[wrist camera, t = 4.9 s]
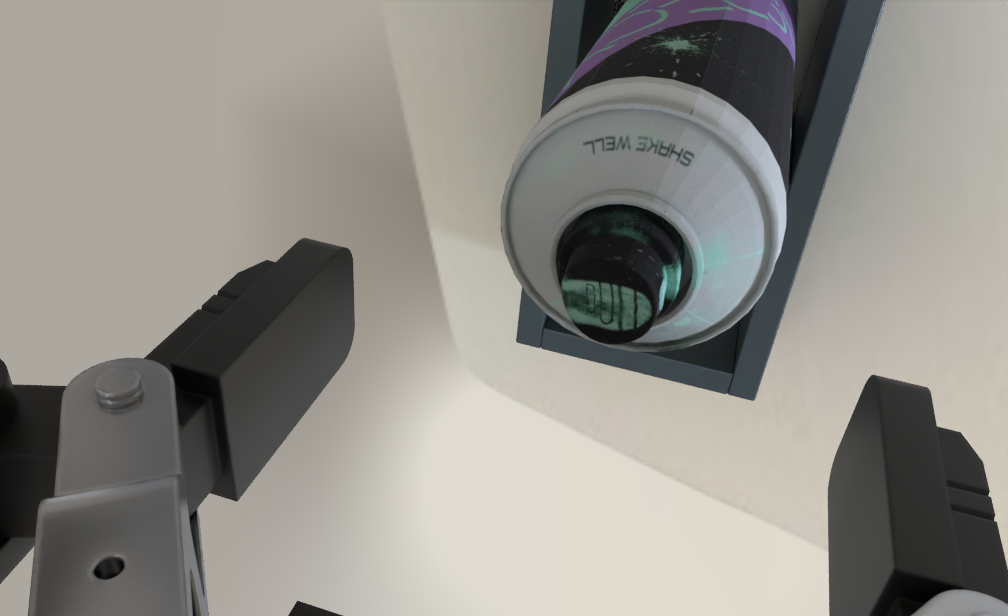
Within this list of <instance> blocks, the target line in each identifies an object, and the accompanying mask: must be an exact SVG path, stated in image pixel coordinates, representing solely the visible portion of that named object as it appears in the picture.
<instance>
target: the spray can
mask: <svg viewBox="0 0 1008 616" xmlns="http://www.w3.org/2000/svg"><path fill="white" fill-rule="evenodd" d="M797 16H798V0H627V1H626V2H625V4H624V5H623V6H622V8H621V9H620V10H619V12H618V13H617V15H616V16H615V17H614V19H613V20H612V21H611V23H610V24H609V26H608V27H607V28H606V30H605V31H604V32H603V34H602V35H601V37H600V38H599V39H598V41H597V42H596V43H595V45H594V46H593V48H592V49H591V50H590V52H589V53H588V54H587V56H586V57H585V58H584V60H583V61H582V63H581V64H580V65H579V67H578V68H577V69H576V71H575V72H574V74H573V75H572V76H571V78H570V79H569V80H568V82H567V83H566V85H565V86H564V87H563V89H562V90H561V91H560V93H559V94H558V96H557V97H556V98H555V100H554V101H553V102H552V104H551V105H550V106H549V108H548V109H547V111H546V112H545V113H544V115H543V116H542V117H541V119H540V120H539V122H538V123H537V124H536V126H535V127H534V128H533V130H532V131H531V133H530V134H529V135H528V137H527V138H526V139H525V141H524V142H523V144H522V146H521V148H520V150H519V153H518V155H517V157H516V159H515V161H514V163H513V166H512V170H511V174H510V176H509V178H508V180H507V183H506V186H505V191H504V195H503V199H502V204H501V233H502V238H503V243H504V248H505V253H506V255H507V258H508V260H509V262H510V265H511V267H512V270H513V272H514V274H515V276H516V278H517V279H518V281H519V282H520V284H521V285H522V287H523V288H524V290H525V291H526V293H527V294H528V295H529V297H530V298H531V299H532V300H533V301H534V302H535V303H536V304H537V305H538V306H539V307H540V308H541V309H542V310H543V311H544V312H545V313H546V314H547V315H549V316H550V317H551V318H552V319H554V320H555V321H556V322H558V323H559V324H560V325H562V326H563V327H565V328H566V329H568V330H570V331H572V332H574V333H576V334H578V335H579V336H581V337H583V338H585V339H588V340H590V341H593V342H596V343H599V344H602V345H605V346H608V347H612V348H618V349H623V350H629V351H637V352H662V351H669V350H675V349H682V348H686V347H689V346H692V345H695V344H698V343H701V342H704V341H707V340H709V339H711V338H713V337H715V336H716V335H718V334H720V333H722V332H724V331H726V330H727V329H729V328H730V327H731V326H733V325H734V324H735V323H736V322H737V321H739V320H740V319H741V318H742V317H743V316H745V315H746V314H747V313H748V312H749V311H750V309H751V308H752V307H753V305H754V304H755V303H756V302H757V300H758V299H759V298H760V297H761V295H762V294H763V292H764V290H765V288H766V286H767V284H768V282H769V279H770V277H771V275H772V273H773V271H774V266H775V263H776V261H777V258H778V256H779V254H780V252H781V247H782V243H783V238H784V234H785V229H786V217H787V199H788V181H789V163H790V144H791V126H792V108H793V89H794V71H795V53H796V35H797Z"/></svg>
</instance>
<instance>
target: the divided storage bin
mask: <svg viewBox="0 0 1008 616" xmlns="http://www.w3.org/2000/svg"><path fill="white" fill-rule="evenodd" d="M615 1H616V0H554V1H553V10H552V19H551V29H550V38H549V47H548V56H547V65H546V74H545V83H544V92H543V101H542V111H541V117H542V116H543V115H544V113H545V112H546V111H547V109H548V108H549V106H550V105H551V104H552V102H553V101H554V100H555V98H556V97H557V96H558V94H559V93H560V91H561V90H562V89H563V87H564V86H565V85H566V83H567V82H568V80H569V79H570V78H571V76H572V75H573V74H574V72H575V71H576V69H577V68H578V67H579V65H580V64H581V63H582V61H583V60H584V58H585V57H586V56H587V54H588V53H589V52H590V50H591V49H592V48H593V46H594V45H595V43H596V42H597V41H598V39H599V38H600V37H601V35H602V34H603V32H604V31H605V30H606V28H607V27H608V26H609V24H610V23H611V21H612V20H613V15H614V8H615ZM885 1H886V0H828V3H827V7H826V10H825V13H824V17H823V20H822V24H821V27H820V31H819V34H818V38H817V41H816V45H815V48H814V51H813V55H812V58H811V62H810V65H809V69H808V72H807V76H806V79H805V82H804V86H803V89H802V93H801V96H800V100H799V103H798V107H797V110H796V114H795V117H794V118H793V117H792V126H791V144H790V163H789V181H788V199H787V217H786V229H785V234H784V238H783V243H782V247H781V252H780V254H779V256H778V258H777V261H776V263H775V266H774V271H773V273H772V275H771V277H770V279H769V282H768V284H767V286H766V288H765V290H764V292H763V294H762V295H761V297H760V298H759V299H758V300H757V302H756V303H755V304H754V305H753V307H752V308H751V309H750V311H749V312H748V313H747V314H746V315H745V316H743V317H742V318H741V319H740V320H739V321H737V322H736V323H735V324H734V325H733V326H731V327H730V328H729V329H727V330H726V331H724V332H722V333H720V334H718V335H716V336H715V337H713V338H711V339H709V340H707V341H704V342H701V343H698V344H695V345H692V346H689V347H686V348H682V349H675V350H669V351H662V352H637V351H629V350H623V349H618V348H612V347H608V346H605V345H602V344H599V343H596V342H593V341H590V340H588V339H585V338H583V337H581V336H579V335H578V334H576V333H574V332H572V331H570V330H568V329H566V328H565V327H563V326H562V325H560V324H559V323H558V322H556V321H555V320H554V319H552V318H551V317H550V316H549V315H547V314H546V313H545V312H544V311H543V310H542V309H541V308H540V307H539V306H538V305H537V304H536V303H535V302H534V301H533V300H532V299H531V298H530V297H529V295H528V294H527V293H526V291H525V290H524V288H523V287H522V293H521V302H520V311H519V320H518V330H517V339H516V341H517V343H521V344H525V345H529V346H533V347H537V348H540V347H541V348H542V349H545V350H549V351H553V352H557V353H561V354H566V355H570V356H574V357H578V358H582V359H586V360H590V361H594V362H598V363H602V364H606V365H610V366H614V367H618V368H622V369H626V370H630V371H634V372H638V373H642V374H646V375H650V376H654V377H658V378H662V379H666V380H671V381H675V382H679V383H683V384H687V385H691V386H695V387H699V388H703V389H707V390H711V391H715V392H719V393H723V394H727V393H728V394H729V395H732V396H736V397H740V398H744V399H748V400H752V401H754V400H755V398H756V395H757V392H758V389H759V386H760V383H761V379H762V376H763V373H764V370H765V367H766V364H767V361H768V358H769V355H770V352H771V349H772V346H773V343H774V340H775V337H776V334H777V331H778V328H779V324H780V321H781V318H782V315H783V312H784V309H785V306H786V303H787V300H788V297H789V294H790V291H791V288H792V285H793V282H794V279H795V276H796V273H797V269H798V266H799V263H800V260H801V257H802V254H803V251H804V248H805V245H806V242H807V239H808V236H809V233H810V230H811V227H812V224H813V221H814V218H815V214H816V211H817V208H818V205H819V202H820V199H821V196H822V193H823V190H824V187H825V184H826V181H827V178H828V175H829V172H830V169H831V166H832V163H833V159H834V156H835V153H836V150H837V147H838V144H839V141H840V138H841V135H842V132H843V129H844V126H845V123H846V120H847V117H848V114H849V111H850V108H851V104H852V101H853V98H854V95H855V92H856V89H857V86H858V83H859V80H860V77H861V74H862V71H863V68H864V65H865V62H866V59H867V56H868V53H869V50H870V46H871V43H872V40H873V37H874V34H875V31H876V28H877V25H878V22H879V19H880V16H881V13H882V10H883V7H884V4H885Z"/></svg>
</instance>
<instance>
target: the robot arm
mask: <svg viewBox="0 0 1008 616" xmlns="http://www.w3.org/2000/svg"><path fill="white" fill-rule="evenodd" d="M354 324H355V323H354V281H353V258H352V254H351V252H350V250H349V249H348V248H344V247H340V246H336V245H332V244H328V243H324V242H319V241H315V240H311V239H307V238H303V239H301V240H299V241H298V242H297V243H296V244H295V245H294V246H293V247H292V248H290V250H288V251H287V252H286V253H285V254H284V255H283V256H282V257H281V258H280V259H279V260H278V261H277V262H272V261H268V260H266V261H263V262H261V263H259V264H257V265H255V266H252V267H250V268H248V269H246V270H244V271H241V272H239V273H237V274H236V275H235V276H234V277H233V278H232V279H231V280H230V281H229V282H227V283H226V284H225V285H224V286H223V287H222V288H221V289H220V290H219V291H218V294H217V295H213V296H212V297H211V298H210V299H209V300H208V301H207V302H205V303H204V304H203V305H202V309H201V310H199V309H198V310H197V311H196V312H194V313H193V315H191V316H190V317H189V318H188V319H187V320H186V321H185V322H184V323H182V324H181V325H180V326H179V327H178V328H177V329H176V330H175V331H174V332H173V333H171V334H170V335H169V336H168V337H167V338H166V339H165V340H164V341H163V342H162V343H160V344H159V345H158V346H157V347H156V348H155V349H154V350H153V351H152V352H151V353H149V354H148V355H147V356H146V357H145V358H144V359H142V358H122V359H116V360H110V361H106V362H103V363H100V364H97V365H95V366H92V367H90V368H89V369H87V370H85V371H83V372H82V373H80V374H79V375H77V376H76V377H75V378H74V379H73V380H72V381H71V382H70V383H69V384H68V385H67V386H41V385H12V382H11V379H10V376H9V373H8V370H7V367H6V365H5V363H4V362H3V361H2V360H1V359H0V584H1V583H2V581H3V580H4V579H5V578H6V577H7V576H8V575H9V574H10V572H11V571H12V570H13V569H14V568H15V566H17V565H18V563H19V562H20V561H21V560H22V559H23V558H24V557H25V556H26V554H27V553H28V552H29V551H30V550H31V549H32V548H33V546H34V545H35V547H34V557H33V567H32V578H31V588H30V599H29V609H28V616H209V612H208V601H207V591H206V581H205V570H204V560H203V550H202V539H201V529H200V519H199V514H198V507H199V505H200V504H201V503H202V501H203V500H204V499H205V498H206V497H207V495H208V494H209V493H211V494H215V495H218V496H221V497H225V498H227V499H231V500H234V501H238V500H239V499H240V497H241V496H242V495H243V493H244V492H245V491H246V489H247V488H248V487H249V486H250V484H251V483H252V482H253V480H254V479H255V477H256V476H257V475H258V474H259V473H260V471H261V470H262V469H263V467H264V466H265V465H266V463H267V462H268V461H269V459H270V458H271V457H272V456H273V454H274V453H275V452H276V450H277V449H278V448H279V446H280V445H281V444H282V443H283V441H284V440H285V439H286V437H287V436H288V435H289V433H290V432H291V431H292V430H293V428H294V427H295V426H296V424H297V423H298V421H299V420H300V419H301V418H302V416H303V415H304V414H305V413H306V411H307V410H308V409H309V407H310V406H311V405H312V403H313V402H314V401H315V400H316V398H317V397H318V395H319V394H320V393H321V392H322V390H323V389H324V388H325V387H326V385H327V384H328V383H329V381H330V380H331V379H332V377H333V376H334V375H335V373H336V372H337V371H338V370H339V368H340V367H341V365H342V364H343V363H344V361H345V359H346V358H347V355H348V353H349V351H350V348H351V345H352V341H353V336H354V326H355V325H354ZM989 492H990V491H989V487H988V482H987V478H986V474H985V469H984V465H983V462H982V460H981V459H980V458H979V456H978V455H977V454H976V452H975V451H974V450H973V448H972V447H971V446H970V444H969V443H968V442H967V440H966V439H965V438H964V436H963V435H962V434H961V432H957V431H953V430H949V429H945V428H941V427H937V426H936V420H935V414H934V409H933V403H932V397H931V393H930V390H929V389H928V388H927V387H922V386H918V385H914V384H910V383H906V382H901V381H897V380H893V379H889V378H885V377H880V376H876V375H872V376H871V377H870V378H869V379H868V380H867V382H866V384H865V386H864V388H863V391H862V393H861V395H860V398H859V400H858V403H857V405H856V407H855V410H854V412H853V414H852V417H851V419H850V422H849V424H848V426H847V429H846V431H845V433H844V436H843V438H842V440H841V443H840V445H839V448H838V450H837V453H836V455H835V458H834V462H833V465H832V469H831V474H830V479H829V486H828V543H829V607H830V608H829V611H830V612H829V613H830V616H1008V569H1007V565H1006V560H1005V556H1004V552H1003V547H1002V543H1001V539H1000V534H999V530H998V526H997V522H995V521H994V517H995V513H994V508H993V504H992V500H991V497H988V495H989ZM289 616H342V615H339V614H336V613H333V612H329V611H327V610H324V609H321V608H317V607H315V606H312V605H308V604H306V603H303V602H300V601H297V602H296V604H295V606H294V607H293V609H292V611H291V612H290V614H289Z"/></svg>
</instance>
